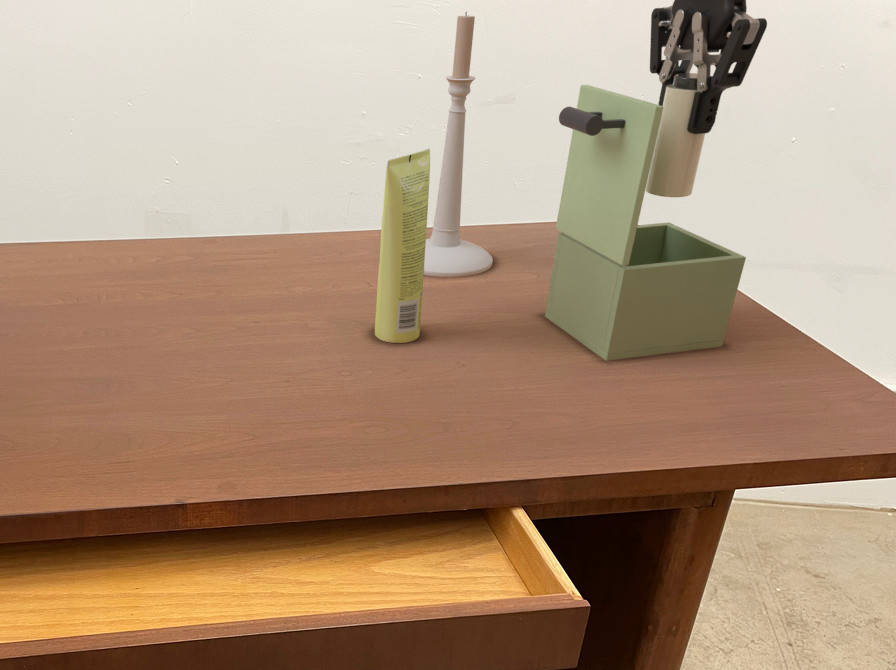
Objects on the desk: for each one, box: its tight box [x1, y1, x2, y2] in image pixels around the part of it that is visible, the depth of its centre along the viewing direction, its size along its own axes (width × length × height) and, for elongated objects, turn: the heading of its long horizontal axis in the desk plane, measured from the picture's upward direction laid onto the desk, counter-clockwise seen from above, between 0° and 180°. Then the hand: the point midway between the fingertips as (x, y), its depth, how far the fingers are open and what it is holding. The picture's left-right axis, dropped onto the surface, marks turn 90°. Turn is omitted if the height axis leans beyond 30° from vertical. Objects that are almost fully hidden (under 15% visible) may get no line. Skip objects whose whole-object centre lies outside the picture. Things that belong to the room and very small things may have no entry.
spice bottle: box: [645, 72, 712, 198], centre depth 92 cm, size 4×4×11 cm
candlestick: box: [424, 11, 494, 278], centre depth 116 cm, size 13×13×30 cm
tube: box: [374, 147, 431, 344], centre depth 97 cm, size 6×5×20 cm
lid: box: [555, 84, 664, 265], centre depth 91 cm, size 15×13×5 cm
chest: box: [544, 222, 747, 362], centre depth 100 cm, size 14×13×10 cm
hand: (682, 127), depth 91 cm, fingers closed on spice bottle, 4 cm apart
